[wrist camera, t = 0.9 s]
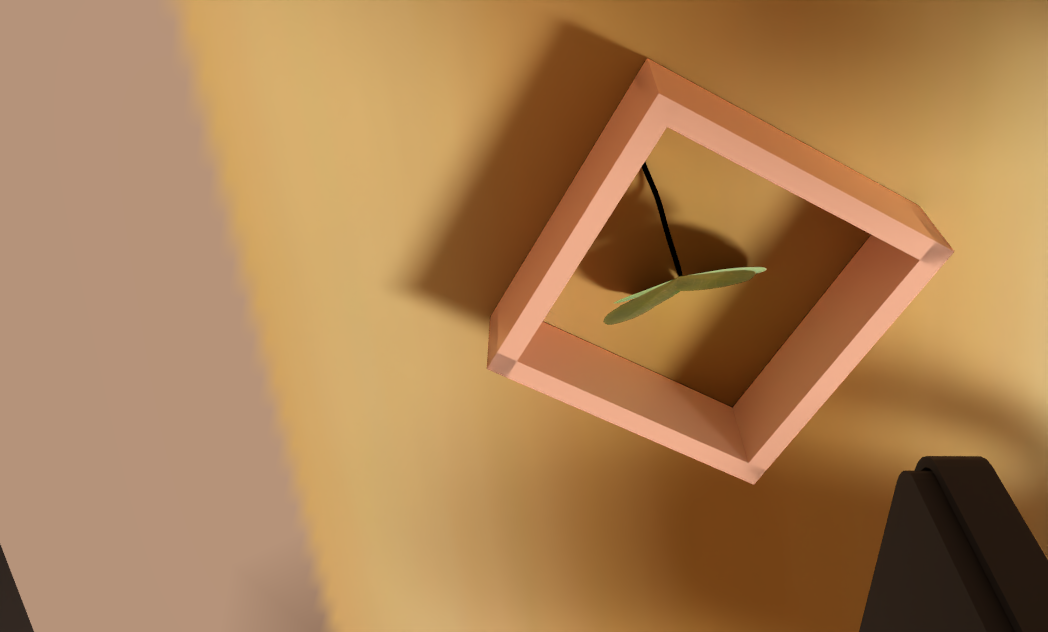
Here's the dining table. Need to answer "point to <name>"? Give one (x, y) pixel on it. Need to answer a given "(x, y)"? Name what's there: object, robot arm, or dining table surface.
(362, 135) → the dining table surface
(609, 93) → the dining table surface
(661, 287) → the seedling
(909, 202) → the planter frame
